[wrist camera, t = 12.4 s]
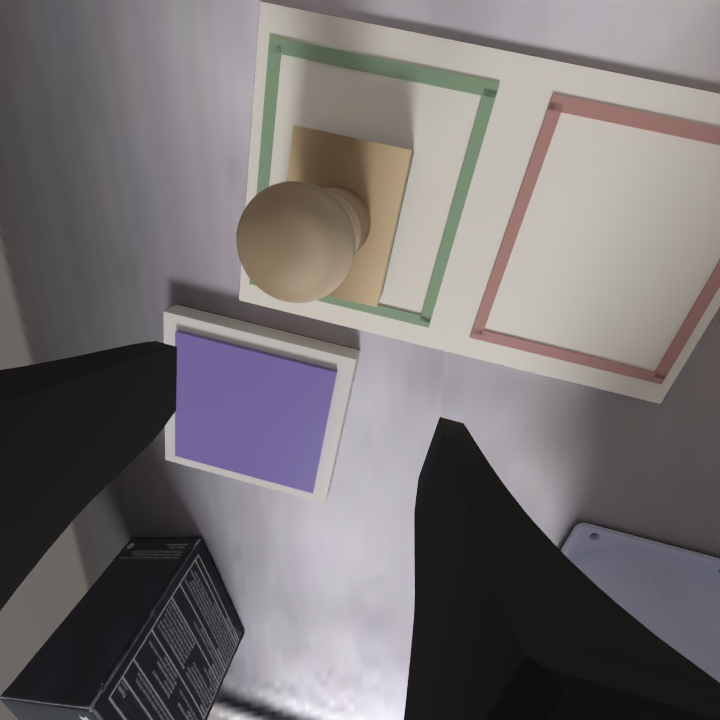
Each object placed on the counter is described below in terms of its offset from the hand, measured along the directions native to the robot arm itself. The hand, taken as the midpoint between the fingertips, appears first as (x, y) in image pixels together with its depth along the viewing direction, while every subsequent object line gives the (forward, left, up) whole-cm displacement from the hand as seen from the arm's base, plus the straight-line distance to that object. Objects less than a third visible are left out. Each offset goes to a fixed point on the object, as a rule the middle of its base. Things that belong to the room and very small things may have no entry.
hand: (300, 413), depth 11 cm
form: (-4, -5, -10) cm, 12 cm away
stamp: (+1, -4, -10) cm, 11 cm away
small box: (+9, +25, -11) cm, 29 cm away
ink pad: (+5, +7, -10) cm, 13 cm away
